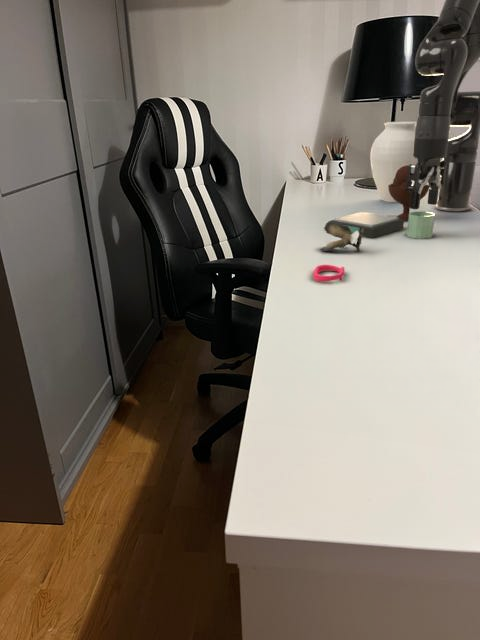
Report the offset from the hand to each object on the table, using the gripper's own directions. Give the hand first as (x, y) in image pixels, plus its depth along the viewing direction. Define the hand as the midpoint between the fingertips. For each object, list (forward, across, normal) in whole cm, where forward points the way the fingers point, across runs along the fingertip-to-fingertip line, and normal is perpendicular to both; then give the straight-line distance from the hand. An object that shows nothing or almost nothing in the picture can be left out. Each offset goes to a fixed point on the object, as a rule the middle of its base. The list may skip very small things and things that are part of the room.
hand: (423, 206), depth 123 cm
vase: (+7, +39, +32) cm, 51 cm away
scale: (+7, -3, +14) cm, 16 cm away
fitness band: (+8, -41, -4) cm, 42 cm away
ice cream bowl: (+7, +15, +13) cm, 21 cm away
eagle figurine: (+8, -24, +6) cm, 26 cm away
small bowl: (+7, 0, 0) cm, 7 cm away
